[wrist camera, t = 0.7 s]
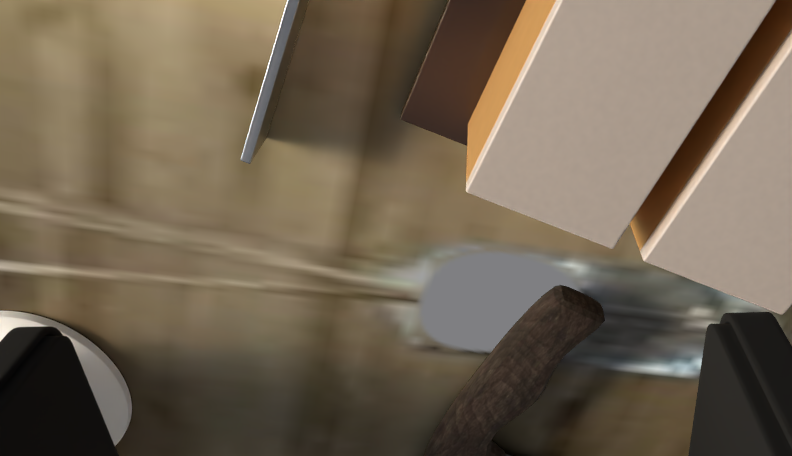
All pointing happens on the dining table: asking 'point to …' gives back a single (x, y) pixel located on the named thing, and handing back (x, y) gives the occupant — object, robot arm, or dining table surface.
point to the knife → (274, 77)
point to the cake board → (459, 65)
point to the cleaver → (515, 373)
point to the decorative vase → (86, 371)
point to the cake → (650, 133)
